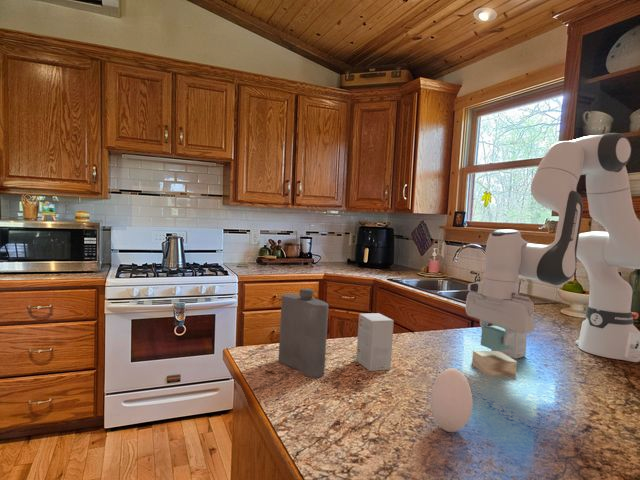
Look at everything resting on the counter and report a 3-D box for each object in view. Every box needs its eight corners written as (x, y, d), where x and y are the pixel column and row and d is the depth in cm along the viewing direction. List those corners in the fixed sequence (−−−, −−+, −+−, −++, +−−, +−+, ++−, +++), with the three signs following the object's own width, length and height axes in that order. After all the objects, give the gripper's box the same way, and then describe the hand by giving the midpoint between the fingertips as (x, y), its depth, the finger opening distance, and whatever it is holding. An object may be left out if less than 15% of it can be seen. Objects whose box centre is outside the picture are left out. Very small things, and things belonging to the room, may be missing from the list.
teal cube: (494, 343, 112) (495, 325, 111) (509, 349, 107) (510, 330, 107) (480, 344, 110) (482, 326, 109) (495, 350, 105) (496, 332, 105)
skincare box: (525, 356, 121) (530, 308, 120) (514, 359, 118) (518, 309, 117) (500, 348, 128) (504, 302, 127) (488, 350, 125) (492, 303, 124)
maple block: (498, 365, 113) (500, 351, 113) (515, 376, 105) (517, 361, 105) (471, 364, 112) (473, 350, 112) (486, 376, 104) (488, 361, 104)
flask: (330, 374, 99) (335, 293, 98) (313, 380, 95) (318, 296, 93) (291, 356, 109) (295, 283, 108) (274, 361, 105) (278, 285, 104)
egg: (442, 416, 80) (446, 358, 80) (477, 432, 75) (482, 371, 74) (420, 427, 76) (425, 366, 75) (456, 446, 70) (461, 380, 69)
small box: (391, 369, 104) (394, 320, 103) (369, 371, 102) (372, 321, 101) (376, 358, 112) (379, 312, 111) (355, 360, 109) (358, 313, 109)
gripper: (543, 297, 99) (538, 352, 100) (480, 283, 118) (476, 329, 119) (524, 298, 97) (519, 354, 98) (463, 283, 116) (459, 330, 116)
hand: (495, 340), depth 108 cm, fingers closed on teal cube, 5 cm apart
